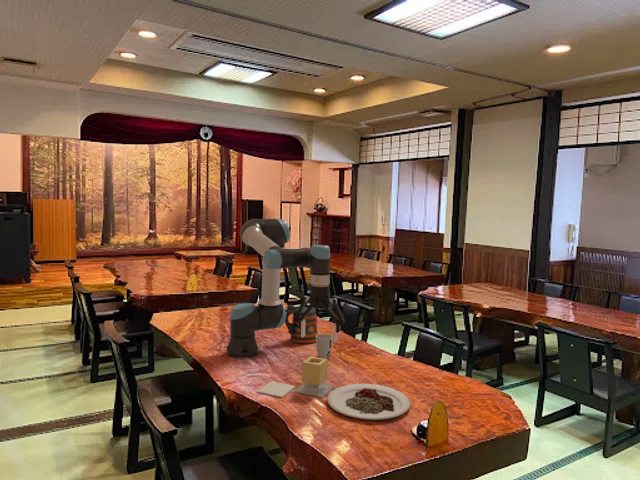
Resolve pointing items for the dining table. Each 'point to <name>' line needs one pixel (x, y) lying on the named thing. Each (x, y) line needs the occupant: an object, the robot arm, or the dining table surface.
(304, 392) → the post stand
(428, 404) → the dining table surface
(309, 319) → the beer stein
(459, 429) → the dining table surface
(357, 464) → the dining table surface
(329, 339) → the cup
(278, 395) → the felt mat
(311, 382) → the yellow square planter
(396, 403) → the plated food
